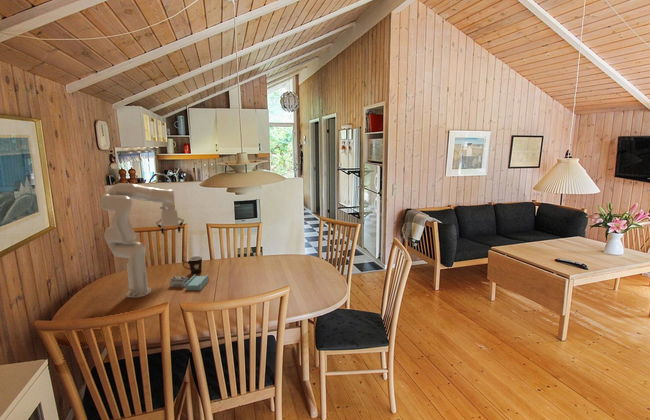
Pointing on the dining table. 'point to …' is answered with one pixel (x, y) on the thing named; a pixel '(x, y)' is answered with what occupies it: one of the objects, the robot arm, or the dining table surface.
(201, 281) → the stand
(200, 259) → the coffee mug
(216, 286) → the dining table surface
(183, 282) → the housing
